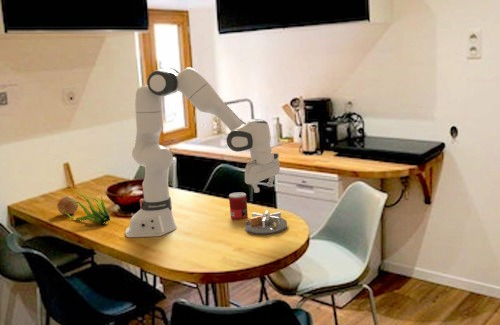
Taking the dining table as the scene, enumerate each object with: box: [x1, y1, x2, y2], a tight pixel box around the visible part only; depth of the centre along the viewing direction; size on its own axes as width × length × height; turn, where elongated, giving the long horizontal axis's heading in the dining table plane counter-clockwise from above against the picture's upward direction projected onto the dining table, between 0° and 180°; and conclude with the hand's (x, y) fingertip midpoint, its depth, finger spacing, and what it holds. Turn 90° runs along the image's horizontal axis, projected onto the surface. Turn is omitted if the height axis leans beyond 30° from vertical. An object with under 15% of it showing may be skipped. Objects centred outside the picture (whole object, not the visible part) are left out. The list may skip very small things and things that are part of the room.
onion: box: [56, 194, 79, 216], centre depth 266 cm, size 10×10×10 cm
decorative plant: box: [65, 188, 111, 225], centre depth 254 cm, size 18×30×15 cm, turn 31°
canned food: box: [228, 191, 249, 221], centre depth 242 cm, size 8×8×11 cm
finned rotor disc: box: [249, 209, 282, 228], centre depth 226 cm, size 14×13×4 cm
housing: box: [244, 217, 288, 236], centre depth 226 cm, size 18×18×4 cm
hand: (263, 189), depth 223 cm, fingers open, 8 cm apart
